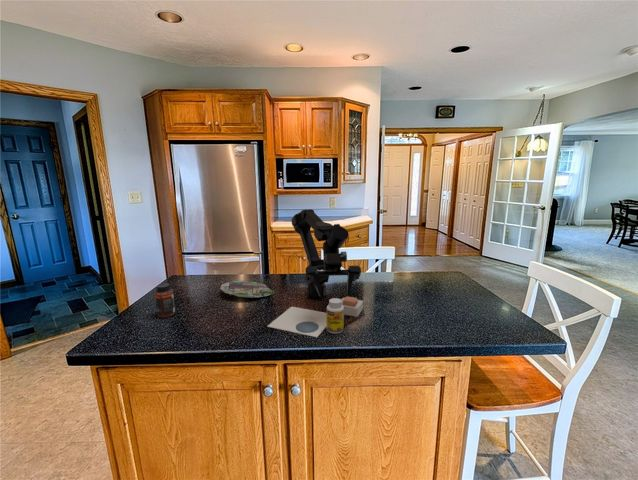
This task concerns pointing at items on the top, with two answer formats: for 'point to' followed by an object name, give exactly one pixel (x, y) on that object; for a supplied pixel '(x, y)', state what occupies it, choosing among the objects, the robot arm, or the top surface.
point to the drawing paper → (301, 321)
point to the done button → (350, 301)
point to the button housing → (353, 308)
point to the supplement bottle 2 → (335, 316)
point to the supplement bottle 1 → (164, 301)
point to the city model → (246, 289)
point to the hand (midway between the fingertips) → (334, 296)
